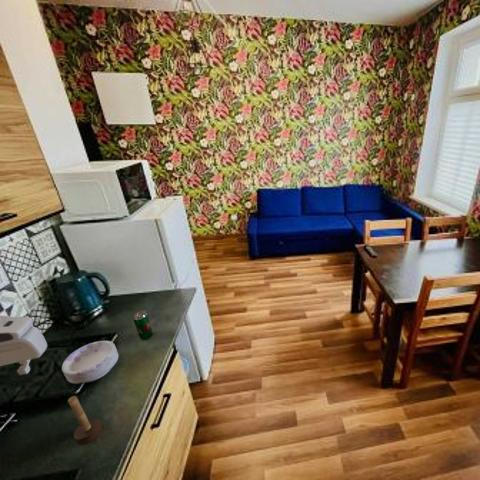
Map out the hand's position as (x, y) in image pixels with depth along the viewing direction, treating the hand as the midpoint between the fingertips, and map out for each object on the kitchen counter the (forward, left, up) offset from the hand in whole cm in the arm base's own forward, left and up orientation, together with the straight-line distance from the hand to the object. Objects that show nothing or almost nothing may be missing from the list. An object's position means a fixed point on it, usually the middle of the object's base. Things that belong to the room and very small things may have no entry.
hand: (0, 378), depth 67 cm
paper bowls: (+6, +24, -26) cm, 36 cm away
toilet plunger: (+12, -2, -26) cm, 29 cm away
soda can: (+20, +38, -26) cm, 50 cm away
